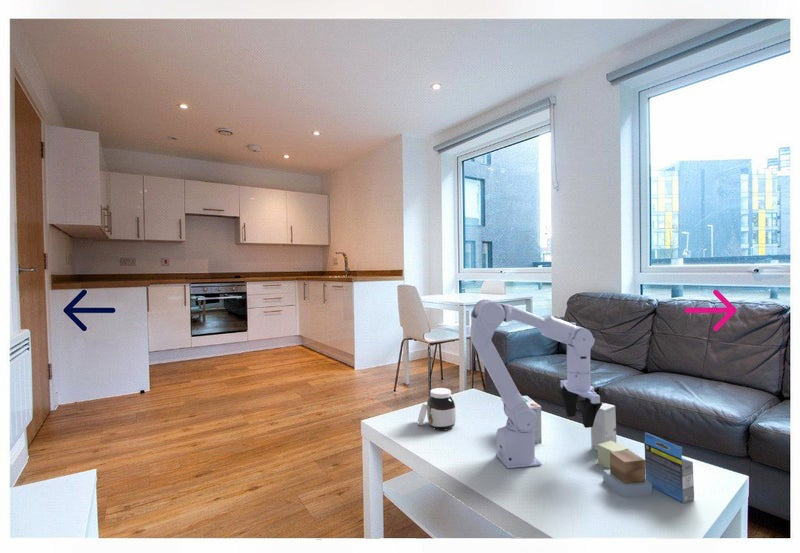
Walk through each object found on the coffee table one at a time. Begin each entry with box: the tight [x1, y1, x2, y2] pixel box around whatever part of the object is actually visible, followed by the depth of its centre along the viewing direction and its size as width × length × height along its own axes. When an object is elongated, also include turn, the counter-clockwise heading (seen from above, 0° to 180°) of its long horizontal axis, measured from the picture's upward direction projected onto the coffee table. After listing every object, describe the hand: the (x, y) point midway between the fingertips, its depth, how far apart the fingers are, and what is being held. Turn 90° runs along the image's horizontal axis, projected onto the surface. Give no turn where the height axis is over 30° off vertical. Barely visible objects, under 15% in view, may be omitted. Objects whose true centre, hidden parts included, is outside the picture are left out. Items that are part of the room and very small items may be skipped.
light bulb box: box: [521, 395, 543, 444], centre depth 119 cm, size 11×7×11 cm, turn 5°
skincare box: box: [590, 402, 617, 452], centre depth 109 cm, size 6×4×12 cm
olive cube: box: [597, 441, 629, 470], centre depth 100 cm, size 5×5×5 cm
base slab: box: [602, 469, 653, 498], centre depth 90 cm, size 7×7×3 cm
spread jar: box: [417, 387, 457, 431], centre depth 128 cm, size 12×11×12 cm
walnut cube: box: [609, 449, 646, 484], centre depth 89 cm, size 5×5×5 cm
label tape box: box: [643, 431, 695, 504], centre depth 88 cm, size 9×4×12 cm, turn 21°
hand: (579, 421), depth 104 cm, fingers open, 7 cm apart
